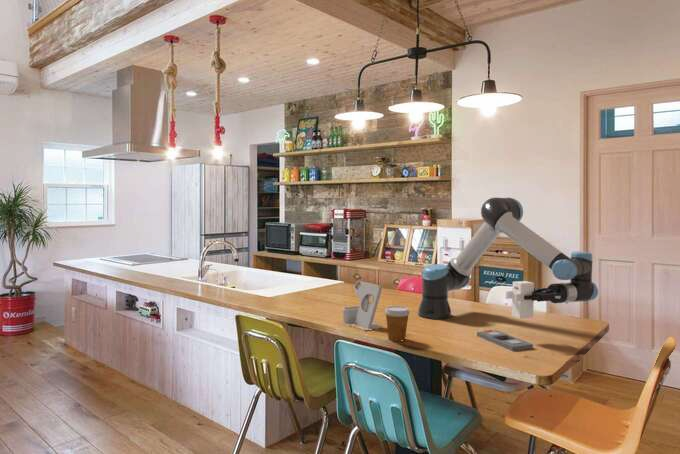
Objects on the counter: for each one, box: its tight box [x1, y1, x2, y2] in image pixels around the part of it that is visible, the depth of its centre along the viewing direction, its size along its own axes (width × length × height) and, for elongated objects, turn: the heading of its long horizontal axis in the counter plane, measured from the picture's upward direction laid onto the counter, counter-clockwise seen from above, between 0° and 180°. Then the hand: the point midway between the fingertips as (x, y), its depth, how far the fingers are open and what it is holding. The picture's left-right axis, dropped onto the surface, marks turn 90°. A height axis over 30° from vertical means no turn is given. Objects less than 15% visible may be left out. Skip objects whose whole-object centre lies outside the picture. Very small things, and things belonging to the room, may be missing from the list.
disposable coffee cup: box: [384, 305, 411, 342], centre depth 186 cm, size 10×10×12 cm
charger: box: [511, 280, 535, 320], centre depth 181 cm, size 4×6×13 cm
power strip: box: [476, 328, 534, 352], centre depth 179 cm, size 20×9×4 cm, turn 20°
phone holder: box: [341, 280, 383, 331], centre depth 207 cm, size 17×10×18 cm, turn 36°
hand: (511, 296), depth 179 cm, fingers closed on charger, 4 cm apart
